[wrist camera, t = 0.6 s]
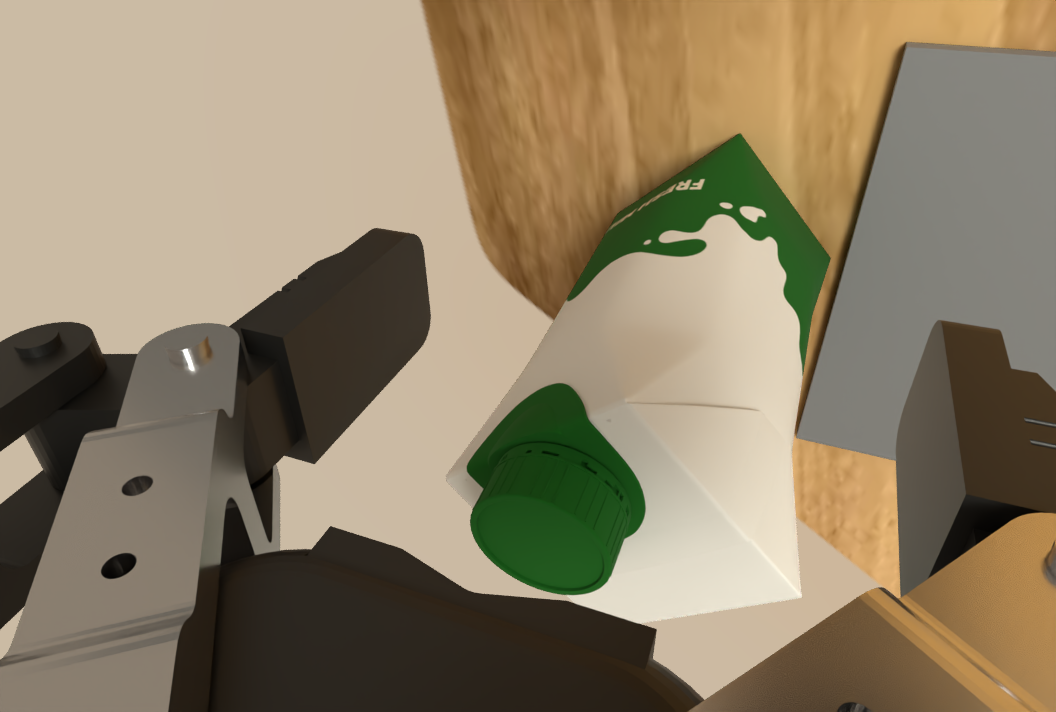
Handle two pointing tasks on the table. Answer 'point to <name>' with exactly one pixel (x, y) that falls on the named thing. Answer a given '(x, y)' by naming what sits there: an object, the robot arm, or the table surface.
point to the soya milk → (661, 408)
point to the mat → (944, 236)
